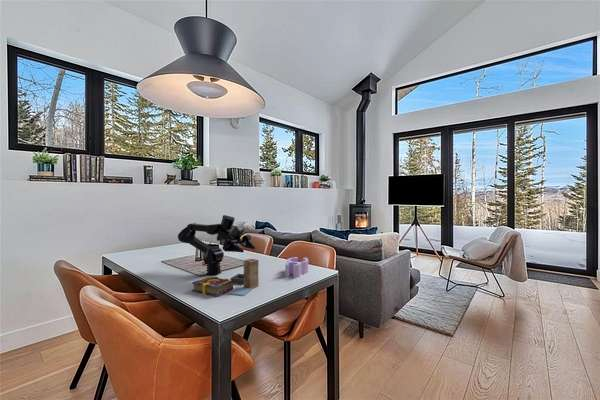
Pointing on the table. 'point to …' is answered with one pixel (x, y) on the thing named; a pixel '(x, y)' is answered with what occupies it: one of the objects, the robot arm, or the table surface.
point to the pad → (240, 291)
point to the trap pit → (238, 279)
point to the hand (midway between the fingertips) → (249, 249)
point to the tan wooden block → (250, 273)
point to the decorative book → (213, 286)
